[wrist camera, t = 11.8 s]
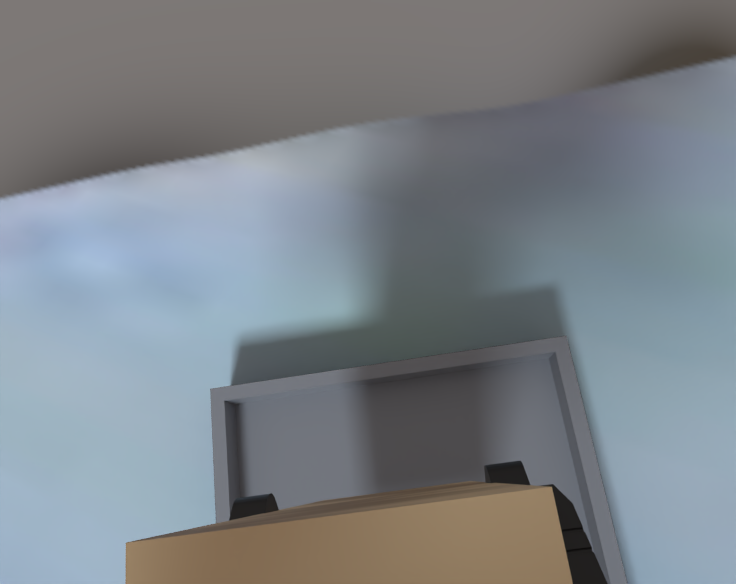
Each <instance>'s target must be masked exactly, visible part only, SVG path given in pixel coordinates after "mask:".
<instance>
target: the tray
mask: <svg viewBox="0 0 736 584" xmlns="http://www.w3.org/2000/svg"><path fill="white" fill-rule="evenodd" d="M210 392H211V416H212V439H213V463H214V486H215V509H216V523H221V522H225V521H229V518H230V514H231V510H232V506H233V503H234V501H235V499H236V498H241V497H249V496H256V495H263V494H271V493H272V494H273V495H274V497H275V500H276V502H277V506H278V509H279V510H281V509H286V508H290V507H295V506H300V505H304V504H309V503H314V502H318V501H323V500H330V499H338V498H345V497H353V496H360V495H368V494H375V493H383V492H390V491H398V490H405V489H413V488H420V487H428V486H435V485H443V484H450V483H458V482H465V481H477V482H485V472H484V466H485V465H490V464H498V463H505V462H512V461H521V462H522V464H523V466H524V469H525V471H526V474H527V477H528V480H529V482H530V485H534V486H541V485H549V484H554V485H555V486H556V487H557V488H558V489H559V490H560V491H561V492H562V493H563V494H564V495H565V496H566V497H567V498H568V499H569V500H570V501H571V502H572V503H573V505H574V508H575V510H576V512H577V514H578V517H579V519H580V521H581V524H582V526H583V530H584V532H585V533H586V535H587V537H588V540H589V542H590V544H591V547H592V551H593V552H594V554H595V556H596V558H597V560H598V563H599V565H600V567H601V570H602V572H603V574H604V576H605V579H606V581H607V583H608V584H627V580H626V576H625V572H624V568H623V564H622V560H621V556H620V552H619V547H618V543H617V539H616V535H615V531H614V527H613V523H612V519H611V515H610V511H609V507H608V503H607V499H606V495H605V491H604V487H603V482H602V478H601V474H600V470H599V466H598V462H597V458H596V454H595V450H594V446H593V442H592V438H591V434H590V430H589V426H588V421H587V417H586V413H585V409H584V405H583V401H582V397H581V393H580V389H579V385H578V381H577V377H576V373H575V369H574V365H573V361H572V356H571V352H570V348H569V344H568V340H567V336H561V337H554V338H548V339H541V340H534V341H527V342H521V343H514V344H507V345H501V346H494V347H487V348H481V349H474V350H467V351H460V352H454V353H447V354H440V355H434V356H427V357H420V358H414V359H407V360H400V361H393V362H387V363H380V364H373V365H367V366H360V367H353V368H347V369H340V370H333V371H327V372H320V373H313V374H306V375H300V376H293V377H286V378H280V379H273V380H266V381H260V382H253V383H246V384H239V385H233V386H226V387H219V388H213V389H210Z"/></svg>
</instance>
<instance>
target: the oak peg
mask: <svg viewBox="0 0 736 584" xmlns="http://www.w3.org/2000/svg"><path fill="white" fill-rule="evenodd" d="M126 584H573V582H572V577H571V573H570V568H569V563H568V559H567V554H566V549H565V545H564V540H563V536H562V531H561V526H560V522H559V517H558V513H557V508H556V503H555V499H554V494H553V490H552V487H548V486H534V485H519V484H505V483H485V482H477V481H465V482H458V483H450V484H443V485H435V486H428V487H420V488H413V489H405V490H398V491H390V492H383V493H375V494H368V495H360V496H353V497H345V498H338V499H330V500H323V501H318V502H314V503H309V504H304V505H300V506H295V507H290V508H286V509H281V510H278V511H273V512H268V513H263V514H258V515H253V516H249V517H244V518H239V519H235V520H230V521H225V522H221V523H216V524H211V525H207V526H202V527H197V528H193V529H188V530H183V531H179V532H174V533H169V534H165V535H160V536H155V537H151V538H146V539H141V540H137V541H132V542H127V543H126Z"/></svg>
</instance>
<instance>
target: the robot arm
mask: <svg viewBox="0 0 736 584" xmlns="http://www.w3.org/2000/svg"><path fill="white" fill-rule="evenodd" d="M484 472H485V483H505V484H519V485H530V482H529V480H528V477H527V474H526V471H525V469H524V466H523V464H522V462H521V461H512V462H505V463H498V464H490V465H485V466H484ZM541 486H548V487H552V490H553V494H554V499H555V503H556V508H557V513H558V517H559V522H560V526H561V531H562V536H563V540H564V545H565V549H566V554H567V559H568V563H569V568H570V573H571V577H572V582H573V584H608V583H607V581H606V579H605V576H604V574H603V572H602V570H601V567H600V565H599V563H598V560H597V558H596V556H595V554H594V552H593V551H592V547H591V544H590V542H589V540H588V537H587V535H586V533H585V532H584V530H583V526H582V524H581V521H580V519H579V517H578V514H577V512H576V510H575V508H574V505H573V503H572V502H571V501H570V500H569V499H568V498H567V497H566V496H565V495H564V494H563V493H562V492H561V491H560V490H559V489H558V488H557V487H556V486H555V485H554V484H549V485H541ZM278 510H279V509H278V506H277V502H276V500H275V497H274V495H273V494H272V493H271V494H263V495H256V496H249V497H241V498H236V499H235V501H234V503H233V506H232V510H231V514H230V518H229V521H230V520H235V519H239V518H244V517H249V516H253V515H258V514H263V513H268V512H273V511H278Z"/></svg>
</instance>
